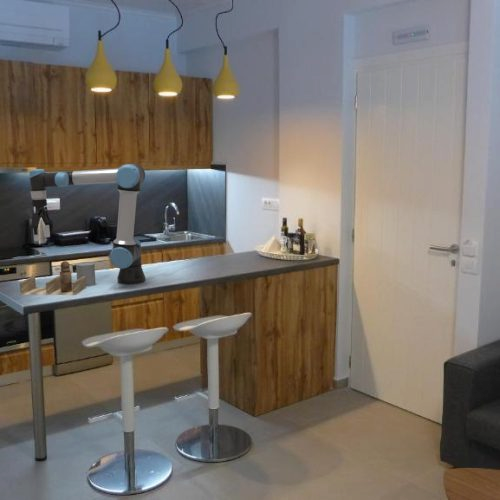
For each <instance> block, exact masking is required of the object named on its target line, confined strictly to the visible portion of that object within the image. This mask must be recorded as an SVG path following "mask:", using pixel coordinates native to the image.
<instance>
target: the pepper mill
mask: <svg viewBox="0 0 500 500" xmlns="http://www.w3.org/2000/svg"><path fill="white" fill-rule="evenodd" d="M70 266H71V265H70V263H69V262H68V261H67V260H64V261H62V262H60V271H59V276H60V285H61V292H71V291H72V283H73V282H72V281H73V280H72V279H73V278H72V271H71V269H70Z"/></svg>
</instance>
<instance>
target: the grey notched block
mask: <svg viewBox="0 0 500 500" xmlns="http://www.w3.org/2000/svg"><path fill="white" fill-rule="evenodd" d="M95 265H96V264H95V262H89V261H86V262H78V263H76V264H75V266H76V267H75V268H76V280H78V279H79V278H81V277H83V276H85V282H86V288H87V287H93V286H95V285H96V268H95Z"/></svg>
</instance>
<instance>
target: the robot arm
mask: <svg viewBox="0 0 500 500" xmlns="http://www.w3.org/2000/svg"><path fill="white" fill-rule="evenodd" d="M145 171H146V170H145V169H144V167H142V166H141V165H139V164H137V163H130V164H129V163H127V164H123V165H121V166H120V167H118V168H105V169H103V168H102V169H86V170H63V171H57V172H45V169H43V168H37V169H35V168H34V169H30V170H29V186H30V196H31V197H30V198H31V206H32V208H33V209H32V210H31V212H32V216H31V221H30V222H31V224H30V228H31V229H32V230H33V240H34V242H40V241H41V238H40V237H41V235H40V228H39V226H40V222H41V220H42V222H43V224H44V225H43V231H44V232H43V233H44V238H51V233H50V231H51V230H50V225H52V221H51V217H50V215H49V214H50V213H49V211H48V207H47V206H48V200H47V188H65V187H68V186H74V185H75V186H79V185H80V186H81V185H82V186H83V185H95V184H96V185H97V184H98V185H100V184H117V187H116V188H117V189H116V190H117V191H118V192H119V201H118V202H119V204H118V213H117V226H116V227H117V228H116V238H115V239H114V240H113V241H112V250H111V251H110V253H109V261H110V263H111V264H112V266H113V267H115V268H117V269H119V270H118V275H117V278H116V279H117V283H119V284H123V285H132V284H133V285H134V284H136V285H137V284H142V283H144V282H145V281H146V276H145V273H144V270H143V268H142V266H143V265H142V245H141V241H140V240H138V239H134V234H135V223H136V222H135V221H136V220H135V218H136V209H137V196H138V194H139V193H140V192H141V186H142V183H144V181H145V180H146V179H145V178H146V172H145Z"/></svg>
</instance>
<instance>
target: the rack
mask: <svg viewBox="0 0 500 500" xmlns="http://www.w3.org/2000/svg"><path fill="white" fill-rule="evenodd" d="M86 288H87V287H86V282H85V276H83V277H81V278H79V279H78V280H77V279H76V280H75V281H73V282H72V291H71V292H61V285H60V275H57V276H56V277H54V278H52V279H50V280H49V281H47V282H46V283H45V286H44V287H39V286H37V283H36V275H32V276H31V277H29V278H26V279H24V280H23V281H21V282H19V290H20V291H19V292H20V295H19V296H23V295H25V296H28V295H29V296H30V295H31V296H43V295H45V296H46V295H47V296H48V295H49V296H50V295H51V296H76V295H77V294H79V293H80V292H82V291H83V290H84V289H86Z"/></svg>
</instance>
